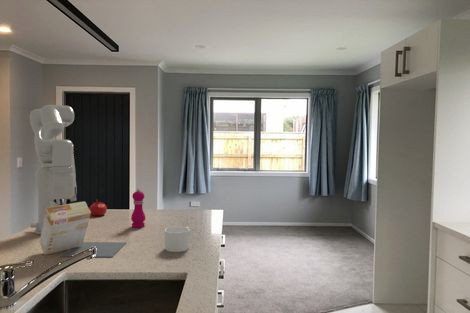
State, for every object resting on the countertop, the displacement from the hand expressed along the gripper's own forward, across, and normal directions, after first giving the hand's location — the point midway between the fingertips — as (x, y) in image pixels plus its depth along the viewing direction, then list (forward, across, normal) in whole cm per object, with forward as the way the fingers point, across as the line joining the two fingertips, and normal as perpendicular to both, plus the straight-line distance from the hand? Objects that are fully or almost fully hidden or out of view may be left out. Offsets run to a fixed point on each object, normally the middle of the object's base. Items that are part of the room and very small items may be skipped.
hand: (63, 215), depth 151 cm
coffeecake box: (+12, -1, 0) cm, 12 cm away
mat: (+14, +13, 0) cm, 19 cm away
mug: (+15, +47, +4) cm, 49 cm away
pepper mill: (+14, +20, +40) cm, 47 cm away
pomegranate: (+14, -10, +66) cm, 68 cm away
